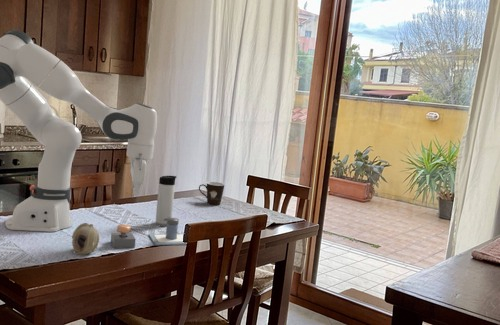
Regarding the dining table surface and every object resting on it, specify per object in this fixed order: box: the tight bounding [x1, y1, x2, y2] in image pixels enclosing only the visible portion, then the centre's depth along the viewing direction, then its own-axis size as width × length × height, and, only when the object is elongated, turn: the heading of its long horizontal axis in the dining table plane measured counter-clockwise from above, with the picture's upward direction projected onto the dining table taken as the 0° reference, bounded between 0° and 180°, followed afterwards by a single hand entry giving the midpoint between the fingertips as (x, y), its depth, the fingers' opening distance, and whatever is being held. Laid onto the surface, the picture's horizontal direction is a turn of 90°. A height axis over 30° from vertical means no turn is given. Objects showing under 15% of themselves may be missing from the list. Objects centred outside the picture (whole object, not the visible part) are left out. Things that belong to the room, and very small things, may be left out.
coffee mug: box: [198, 181, 225, 206], centre depth 253 cm, size 12×9×10 cm
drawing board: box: [148, 233, 186, 246], centre depth 190 cm, size 14×11×1 cm
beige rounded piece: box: [71, 222, 100, 256], centre depth 167 cm, size 9×8×10 cm
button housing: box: [110, 232, 136, 249], centre depth 179 cm, size 7×7×3 cm
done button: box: [116, 224, 132, 237], centre depth 178 cm, size 4×4×5 cm
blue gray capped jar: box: [165, 217, 180, 240], centre depth 189 cm, size 4×4×7 cm
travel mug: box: [155, 175, 177, 227], centre depth 207 cm, size 6×7×20 cm
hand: (134, 191), depth 179 cm, fingers open, 8 cm apart
